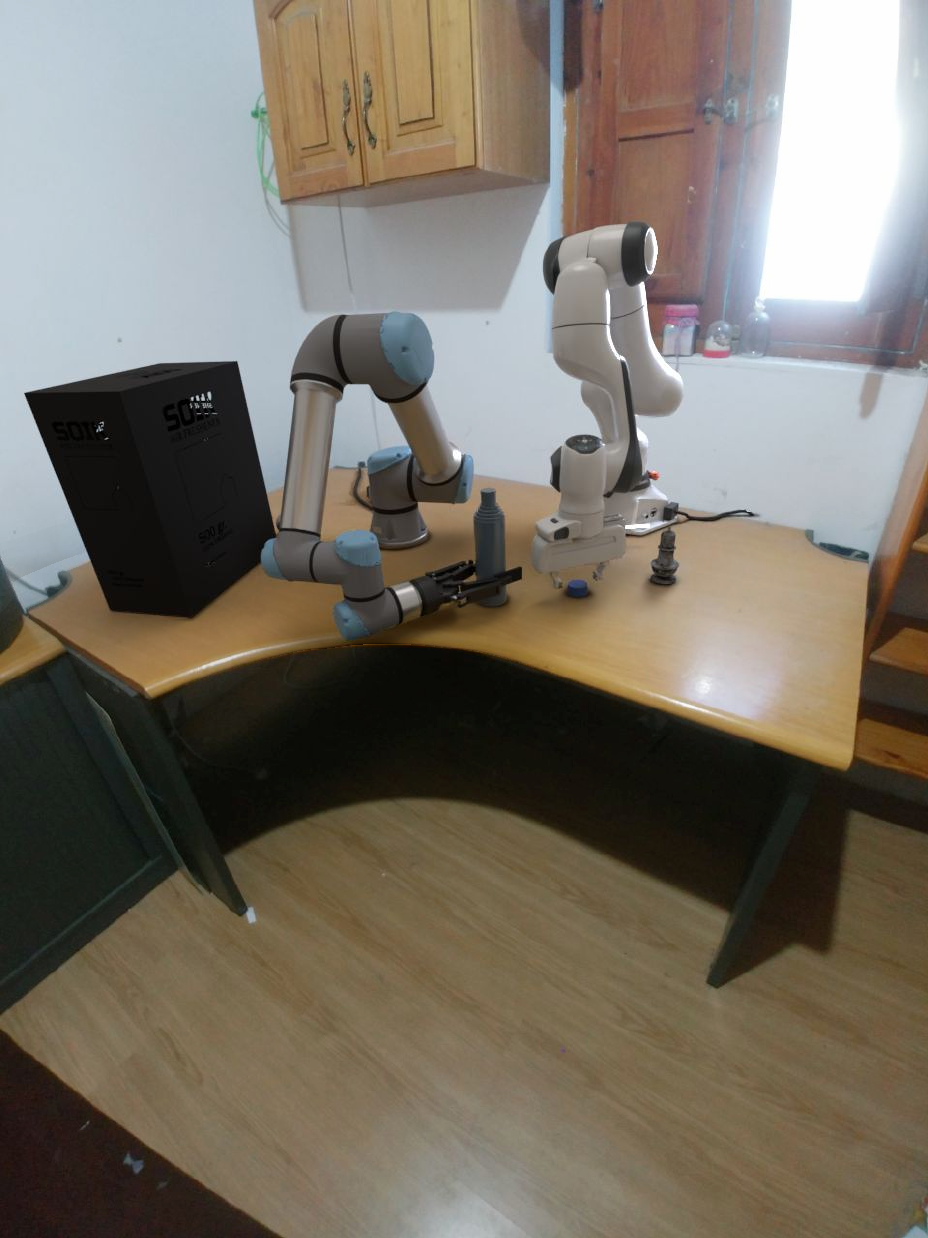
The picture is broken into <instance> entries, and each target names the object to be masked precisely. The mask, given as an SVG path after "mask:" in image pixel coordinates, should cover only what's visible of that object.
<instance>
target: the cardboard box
mask: <svg viewBox="0 0 928 1238" xmlns="http://www.w3.org/2000/svg"><path fill="white" fill-rule="evenodd" d="M209 393H210V397H209V395H208V394H209ZM23 394H24V397H25V399H26V402H27V405H28V407H29V410H30V412H31V414H32V418H33V420H34V423H35V425H36V427H37V430H38V431H39V432H38V433H39V435H40V437H41V440H42V442H43V445H44V447H45V450H46V452H47V455H48V457H49V460H50V463H51V465H52V467H53V470H54V473H55V475H56V478H57V480H58V483H59V486H60V488H61V490H62V493H63V495H64V498H65V501H66V503H67V505H68V509H69V510H70V513H71V516H72V518H73V520H74V523H75V525H76V528H77V532H78V533H79V536H80V538H81V541H82V544H83V546H84V548H85V551H86V554H87V555H88V558H89V561H90V563H91V566H92V568H93V571H94V574H95V576H96V579H97V581H98V584H99V587H100V589H101V591H102V594H103V597H104V598H105V601H106V603H107V607H108V609H109V611H110V612H119V613H120V612H122V613H133V614H146V615H157V616H160V615H161V616H170V617H171V616H172V617H183V618H193V617H194V616H195V615H196V614H197V613H199V612H200V611H202V610H203V609H204V608H205V607H206V606H208V605H209V604H210V603H211V602H213V600H214V599H216V598H217V597H218V596H219V595H221V594H222V593H223V592H225V591H226V590H227V589H228V588H230V586H232V585H233V584H234V583H235V582H237V581H238V580H239V579H240V578H242V577H243V576H244V575H246V573H248V572H249V571H250V570H252V568H254V567H256V565H258V564H259V563H261V552H262V549H264V545H265V543H266V542H267V541H268V540H270V539H275V538H278V536H277V533H276V529H275V524H274V520H273V515H272V510H271V505H270V502H269V497H268V493H267V487H266V483H265V479H264V474H263V471H262V466H261V461H260V457H259V452H258V447H257V444H256V439H255V434H254V429H253V425H252V421H251V417H250V416H251V415H250V411H249V408H248V403H247V398H246V394H245V388H244V385H243V379H242V376H241V371H240V367H239V361H238V360H227V361H226V360H225V361H224V360H223V361H189V362H188V361H187V362H159V363H155V364H149V365H145V366H140V367H136V368H131V369H126V370H123V371H117V372H114V373H113V372H112V373H109V374H104V375H100V376H95V377H90V378H86V379H81V380H77V381H72V382H68V383H62V384H58V385H54V386H53V385H52V386H49V387H44V388H40V389H35V390H32V391H31V390H30V391H26V392H23ZM197 397H198V398H197ZM192 398H193V399H192ZM202 398H203V399H204V400H202Z"/></svg>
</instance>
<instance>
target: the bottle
mask: <svg viewBox="0 0 928 1238" xmlns="http://www.w3.org/2000/svg"><path fill="white" fill-rule="evenodd" d="M496 497H497V490H496V488H494V487H484V488H481V489H480V503H479V506H478V507H477V508H476V510H475V512H474V513H473V517H472V523H473V542H474V564H475V568H476V575H475V580H481V579H488V578H494V575H495V574H498V573H501V572H504V571H507V546H506V515H505V512H504V511H503V509H502V508H501V506H500V505H499V503H498V502H497V498H496ZM507 599H508V598H507V585H505V586H502V587H501V594H500V595H497V596H494V597H491V598H487V599H484V600H481V601H477V602H476V603H478V604H479V605H481V606H484V607H489V608H492V607H498V606H501V605H504V604H505V603H506V601H507Z"/></svg>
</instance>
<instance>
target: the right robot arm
mask: <svg viewBox="0 0 928 1238" xmlns="http://www.w3.org/2000/svg"><path fill="white" fill-rule="evenodd" d="M654 231H655V230H654V229H653V228H652V227H651V225H649V224H648V222H646V221H645V222H644V221H629V222H627V223H620V224H619V223H617V224H609V225H601V226H597V227H595V228H592V229H588V230H585V231H582V232H578V233H576V234H572V235H570V236H567V235H564V236H561V237H560V238H557V239H555V240H553V241H552V242H551V243H550V244H549V245H548V246H547V249H546V250H545V252H544V255H543V260H542V273H543V274H542V275H543V280H544V284H545V286H546V288H547V290H548V291H549V292H550V293H551V295H553V298H552V299H553V300H552V309H551V328H550V329H551V331H550V334H551V335H550V336H551V337H550V338H551V339H550V340H551V352H552V359H553V360H554V363H555V364H556V366H557V367H558V368H559V369H560V370H561V371H562V372H563V373H565V374H566V375H567V376H570V377H571V378H573V379H576V380H579V381H581V383H580V397H581V400H582V402H583V404H584V405H585V407H587V408H588V409H589V410H590V412H591V413H592V415H593V417H594V418H595V421H596V424H597V426H598V428H599V432H600V436H601V437H599V436H597V435H592V434H585V433H584V434H577V435H573V436H570V437H569V438H566V440H565V441H564V443H563V445H560V446H559V447H558V448H557V449H555V450H554V452H553V453H552V454H551V455H550V456H549V457H550V458H549V459H550V464H551V469H550V470H551V471H550V478H549V484H550V486H551V487H552V488H553V489H554V490H556V492H558V493H560V500H559V503H558V509H557V510H556V511H554V512H552V513H550V514H549V515H546V516H545V517H543V518H541V519H540V520H537V521H536V522H535V525H534V529H535V531H536V533H537V534H536V535H535V536H534V538H533V539H532V544H531V552H530V565H531V567H532V569H533V570H535V572H536V573H538V574H539V575H546V574H548V575H549V577H550V578H551V580H552V583H551V584H552V588H553V589H554V590H560V589H563V587H564V586H563V584H564V582H563V580H562V579H561V578H560V577H558V575H559V572H561V571H564V570H565V571H566V570H571V569H576V568H580V567H586V566H589V565H594V564H598V565H597V568H596V570H592V579H593V580H594V581H595V582H597V581H601V580H603V579H604V573H605V572H606V571H607V569H608V567H609V565H610V561H613V560H614V561H615V560H619V559H623V557H624V555H625V554H626V551H627V539H626V535H632V536H633V535H634V536H645V535H646V534H650V533H652V532H654V531H657V530H660V529H662V528H665V527H668V526H670V525H672V524H675V523H677V522H678V515H680V516H684V517H685V518H686V519H688V520H692V521H693V520H694V521H712V520H718V519H720V518H723V517H725V516H732V515H735V514H748V515H749V516H750V517H755V516H756V515H755V513H754V512H752V511H751V512H747V511H746V510H747V509H744V510H741V509H736V510H729V511H725V512H721V513H719V514H717V515H712V516H695V515H694V516H693V515H690V514H689V513H688V512H684V511H680V510H679V505H680V503H679V502H674V501H671V502H670V501H669V498H668V497H667V496H666V495H665V494H664V493H663V492H661V491H660V490H659V489H658V488H656V487H655V486H654V485H652V483H651V480H653V481H658V479H659V478H660V473H659V472H657V471H654V470H651V471H649V470H648V469H647V466H648V458H649V457H648V455H649V446H650V443H649V439H648V437H647V435H646V434H645V433H644V432H643V431H641V430H640V429H639V428H638V426H637V420H636V417H639V418H645V419H657V418H664V417H669V416H671V415H673V414H674V413H675V412H676V411H677V410H678V409H679V408H680V405H681V404H682V402H683V399H684V395H685V384H684V381H683V378H682V376H681V375H680V374H679V373H678V372H677V371H675V370H674V369H672V367H671V366H669V365H668V363H667V362H666V361H665V360H664V358H663V357H662V356H661V354H660V352H659V351H658V349H657V347H656V344H655V342H654V340H653V337H652V334H651V327H650V321H649V314H648V313H649V312H648V304H647V295H646V288H645V282H646V281H647V280H648V279H649V278H650V277H651V275H652V274H653V272H654V269H655V267H656V261H657V257H658V256H657V255H658V243H657V240H656V235H655V232H654Z"/></svg>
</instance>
